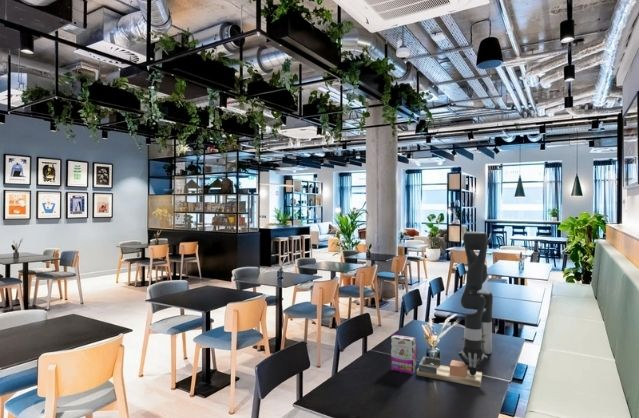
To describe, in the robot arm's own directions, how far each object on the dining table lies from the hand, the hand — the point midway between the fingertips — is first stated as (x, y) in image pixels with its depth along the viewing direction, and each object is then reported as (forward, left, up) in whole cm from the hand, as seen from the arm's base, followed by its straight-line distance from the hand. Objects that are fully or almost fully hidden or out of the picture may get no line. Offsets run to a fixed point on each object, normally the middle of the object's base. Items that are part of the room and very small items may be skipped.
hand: (472, 374), depth 182 cm
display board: (0, -10, -3) cm, 11 cm away
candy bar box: (+4, -31, -3) cm, 32 cm away
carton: (0, -6, -1) cm, 6 cm away
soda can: (-5, -30, -3) cm, 31 cm away
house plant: (-25, -1, -3) cm, 25 cm away
